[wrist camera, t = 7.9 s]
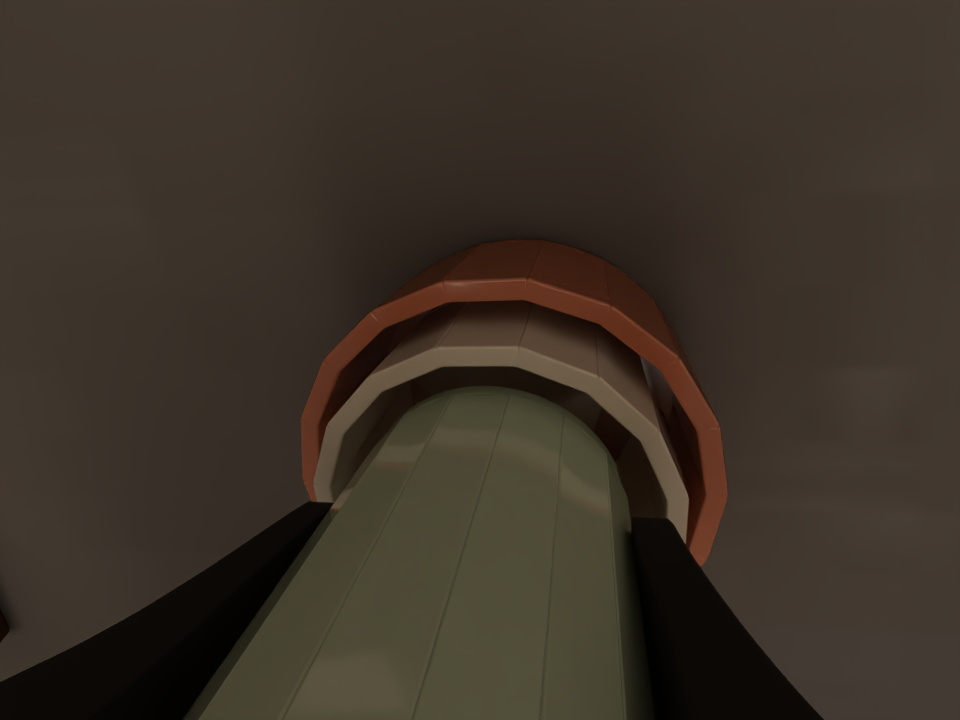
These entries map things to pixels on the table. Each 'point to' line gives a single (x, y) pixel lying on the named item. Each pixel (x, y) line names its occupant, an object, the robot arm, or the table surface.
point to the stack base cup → (562, 287)
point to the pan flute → (3, 628)
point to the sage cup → (456, 581)
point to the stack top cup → (525, 346)
